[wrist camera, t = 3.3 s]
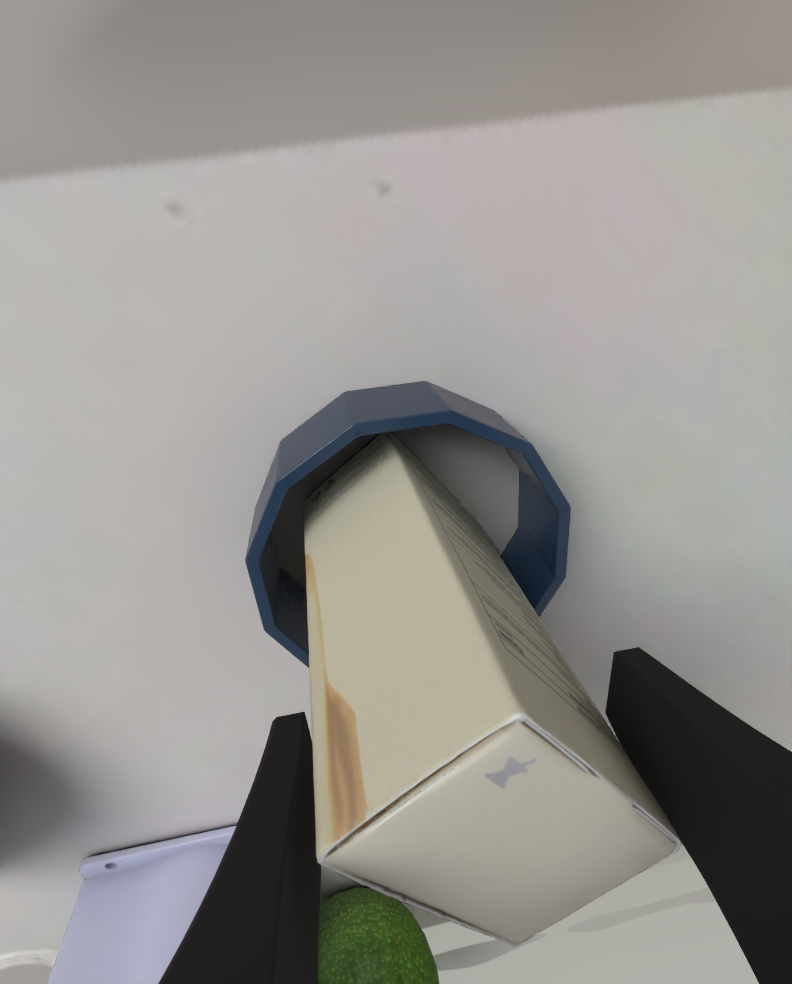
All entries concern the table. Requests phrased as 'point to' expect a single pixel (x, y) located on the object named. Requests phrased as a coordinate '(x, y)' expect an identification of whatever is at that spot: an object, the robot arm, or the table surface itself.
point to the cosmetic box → (454, 717)
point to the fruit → (371, 941)
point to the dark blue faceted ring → (542, 505)
